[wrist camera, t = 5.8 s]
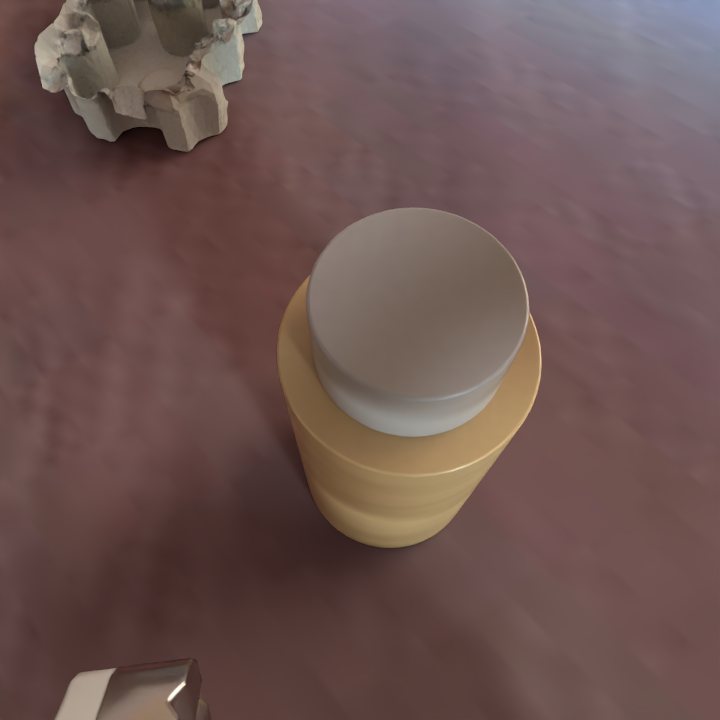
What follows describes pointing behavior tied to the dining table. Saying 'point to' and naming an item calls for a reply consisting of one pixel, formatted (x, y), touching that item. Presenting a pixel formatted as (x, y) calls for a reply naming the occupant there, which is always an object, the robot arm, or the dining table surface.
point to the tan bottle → (406, 371)
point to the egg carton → (148, 63)
